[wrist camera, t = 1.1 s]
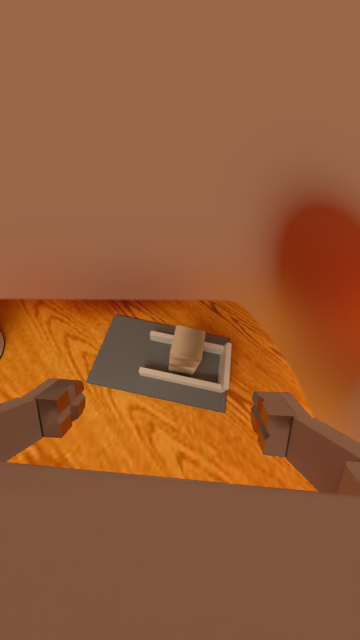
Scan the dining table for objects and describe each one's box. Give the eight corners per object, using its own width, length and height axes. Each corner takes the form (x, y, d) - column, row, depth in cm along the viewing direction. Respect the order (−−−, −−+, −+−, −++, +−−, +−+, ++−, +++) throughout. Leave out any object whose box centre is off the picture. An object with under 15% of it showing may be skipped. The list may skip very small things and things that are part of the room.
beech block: (168, 371, 39) (169, 353, 29) (173, 349, 42) (176, 324, 31) (191, 376, 39) (201, 359, 28) (195, 353, 41) (205, 330, 31)
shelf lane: (86, 382, 37) (75, 376, 33) (115, 315, 45) (109, 302, 40) (224, 412, 37) (233, 411, 32) (229, 339, 44) (237, 329, 39)
